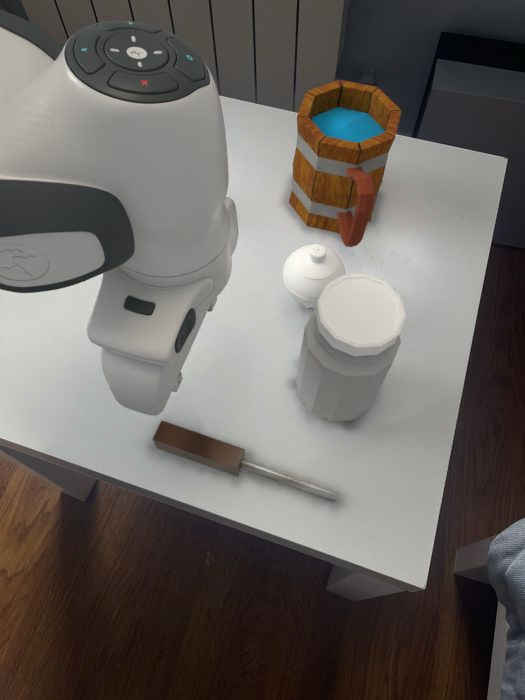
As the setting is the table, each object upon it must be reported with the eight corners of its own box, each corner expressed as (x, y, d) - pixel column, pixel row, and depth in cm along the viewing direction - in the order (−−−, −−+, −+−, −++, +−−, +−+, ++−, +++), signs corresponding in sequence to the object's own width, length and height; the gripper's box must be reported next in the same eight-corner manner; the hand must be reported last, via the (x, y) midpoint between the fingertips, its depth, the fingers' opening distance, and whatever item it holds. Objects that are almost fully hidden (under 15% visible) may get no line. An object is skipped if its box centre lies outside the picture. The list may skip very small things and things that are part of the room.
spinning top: (269, 295, 72) (273, 235, 62) (320, 276, 74) (332, 216, 64) (294, 340, 69) (303, 286, 59) (346, 320, 71) (364, 263, 60)
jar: (278, 391, 66) (288, 312, 50) (326, 339, 69) (349, 249, 53) (343, 441, 63) (375, 374, 47) (389, 384, 66) (433, 303, 51)
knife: (156, 447, 62) (152, 439, 59) (165, 429, 63) (161, 419, 60) (331, 510, 59) (335, 503, 56) (337, 489, 60) (341, 482, 57)
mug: (282, 170, 84) (288, 82, 70) (367, 164, 85) (389, 76, 72) (302, 271, 74) (314, 192, 61) (397, 263, 75) (428, 183, 62)
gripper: (185, 153, 46) (198, 255, 58) (73, 351, 37) (116, 424, 49) (255, 170, 45) (253, 270, 57) (159, 378, 36) (181, 445, 48)
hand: (189, 342), depth 53 cm, fingers open, 8 cm apart
